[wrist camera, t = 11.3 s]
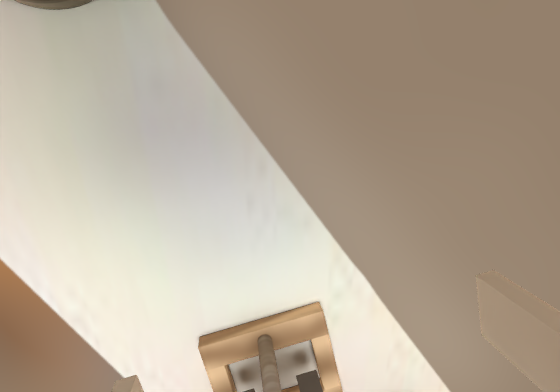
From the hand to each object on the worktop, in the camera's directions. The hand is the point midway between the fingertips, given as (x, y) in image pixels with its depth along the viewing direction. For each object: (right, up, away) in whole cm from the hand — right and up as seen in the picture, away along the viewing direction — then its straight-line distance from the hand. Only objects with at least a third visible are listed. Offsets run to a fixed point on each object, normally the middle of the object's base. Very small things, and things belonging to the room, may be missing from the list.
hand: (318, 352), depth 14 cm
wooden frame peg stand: (-2, -14, +30) cm, 33 cm away
